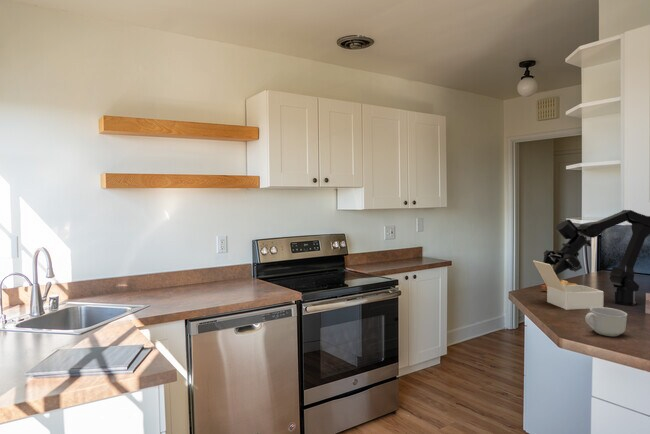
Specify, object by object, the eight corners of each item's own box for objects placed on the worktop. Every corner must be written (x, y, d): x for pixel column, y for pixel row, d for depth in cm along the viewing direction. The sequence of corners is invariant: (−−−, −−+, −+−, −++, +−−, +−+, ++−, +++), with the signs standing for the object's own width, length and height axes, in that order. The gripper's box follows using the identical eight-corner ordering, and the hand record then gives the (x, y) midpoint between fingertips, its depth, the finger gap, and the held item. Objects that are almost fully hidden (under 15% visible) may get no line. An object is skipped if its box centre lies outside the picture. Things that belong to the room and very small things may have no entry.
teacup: (612, 328, 158) (612, 306, 158) (634, 338, 147) (635, 314, 147) (573, 329, 157) (573, 307, 157) (593, 339, 147) (593, 315, 146)
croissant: (589, 301, 214) (590, 285, 217) (590, 295, 206) (590, 278, 209) (540, 296, 224) (541, 281, 227) (539, 290, 216) (540, 274, 219)
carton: (582, 300, 201) (582, 285, 201) (604, 308, 186) (604, 291, 186) (546, 301, 200) (546, 286, 200) (566, 309, 185) (566, 292, 185)
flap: (533, 260, 198) (532, 260, 198) (550, 264, 185) (549, 265, 185) (547, 285, 199) (546, 285, 199) (565, 291, 186) (564, 291, 186)
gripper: (600, 262, 183) (573, 290, 183) (572, 256, 202) (548, 281, 202) (581, 243, 183) (555, 271, 182) (555, 239, 201) (531, 264, 201)
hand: (547, 272), depth 192 cm, fingers open, 9 cm apart
